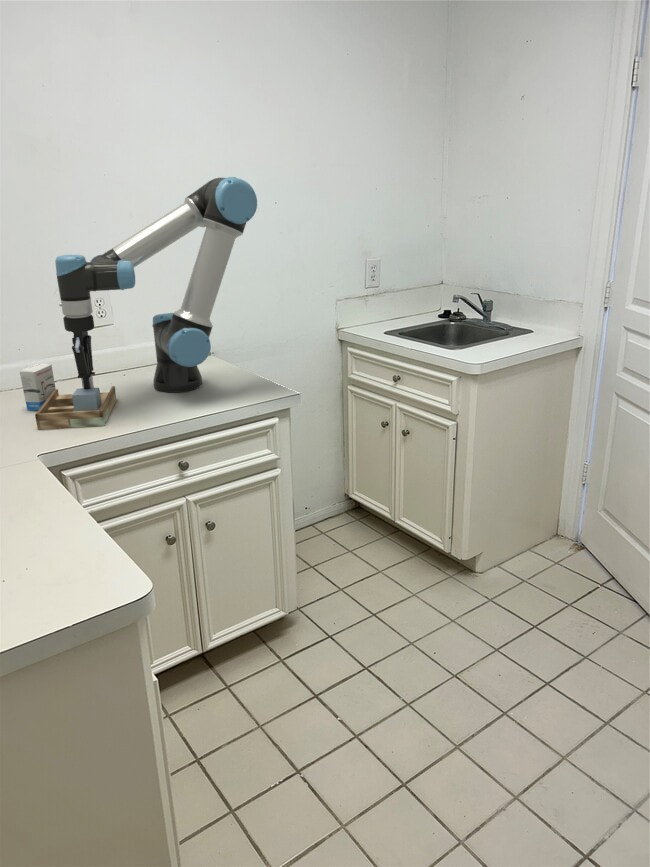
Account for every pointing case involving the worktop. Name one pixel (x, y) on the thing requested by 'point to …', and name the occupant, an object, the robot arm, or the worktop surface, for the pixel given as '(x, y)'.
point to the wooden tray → (73, 412)
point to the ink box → (37, 384)
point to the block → (87, 399)
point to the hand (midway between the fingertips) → (89, 398)
